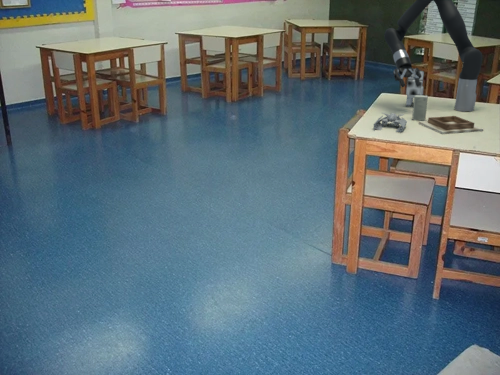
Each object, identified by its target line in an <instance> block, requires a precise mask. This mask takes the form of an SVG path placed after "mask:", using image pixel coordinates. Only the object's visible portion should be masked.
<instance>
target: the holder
mask: <svg viewBox="0 0 500 375" xmlns="http://www.w3.org/2000/svg"><path fill="white" fill-rule="evenodd" d="M418 125H421V126H423V127H424V128H427V129H429V130H432V131H434V132H437V133H439V134H442V135H447V134H460V133H474V132H483V131H484V128H482V127H479V126H477V125H475V122H473V121H470V120H468V119H464V118H462V117H459V116H457V115H449V116H445V115H444V116H433V117H432V116H431V117H428V119H427V120H426V121H425V120H424V121H418Z"/></svg>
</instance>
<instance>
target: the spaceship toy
mask: <svg viewBox="0 0 500 375" xmlns="http://www.w3.org/2000/svg"><path fill="white" fill-rule="evenodd" d="M382 114H383V115H385V116H384V117H383V115H381V116H380V117H378V118H377V119H376V121H375V122H374V123H373V128H374V129H375V130H377V131H381V130H383V128H384V127H385V125H387V124H389V123H392V124H393V125H394V126H396V127H397V128H396V130H395V132H396V133H400V132H401V133H402V132H403V130H404V129H405V127H406V126H407V123H408V121H407V120H406V119H405V118H404V117H401V116H405V114H403V113H402V114H399V115H397V114H396V113H394V112H392V113H386V112H382Z"/></svg>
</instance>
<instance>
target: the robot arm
mask: <svg viewBox="0 0 500 375" xmlns="http://www.w3.org/2000/svg"><path fill="white" fill-rule="evenodd" d="M432 2H434V4H435V5H436V8H437V11H438V14H439V17H440V20H441V22H442V24H443V26H444V28H445V29H446V32H447V33H448V35H449V37H450V38H451V40H452V42H453V44H454V45H455V47H456V50H457V52H458V55H459V58H460V60H461V62H462V67H461V68H462V69H461V72H459V76H458V83H457V89H456V90H457V91H456V95H455V96H456V98H455V104H454V110H455V111H458V112H465V111H469V112H474V111H475V106H476V99H477V93H476V91H477V83H478V77H479V75H480V72H481V67H482V63H483V53H482V52H481V51H480V49H478V48H476V47H475V46H474V45H473V43H472V41H471V40H470V38H469V35H468V31H467V26H466V24H465V21H464V19H463V17H462V15H461V13H460V11H459V10H458V7H456V5H455V4H454V2H453V0H415V1H414V2H413V3H412V4H411V5H410V6H409V7H408V8H407V9H406V10H405V11H404V12H403V14H402V15H401V16H400V17H399V18H398V20H397V22H396V24H397V25H398V28H397V29H395V28H393V27H389V28H387V29H385V32H384V33H383V35H384V37H383V38H384V41H385V42H386V44H387V46H388V47H389V49H390V50H391V53H392V58H393V61H394V64H395V67H396V68H395V69H394V70H393V71H392V74H393V77H394V80H395V81H396V82H397V81H398V82H399V84H400V86H401V88H404V87H405V86H406V84H405V81H404V80H405V78H409V77H410V78H411V79H414V80H415V83H416V86H417V87H418V86H419V85H420V81H419V79H420V78H421V77H422V76H421V74H420V72H419V71H420V69H419V68H418V67H416V68H413V66H412V62H411V59H410V56H409V54H408V52H407V50H406V46H405V45H404V43H403V42H402V41H403V39H404V38H405V36H406V34H407V32H408V30H409V28H410V27H411V26H412V24H413V23H414V22H415V21H416V20H417V19H418V18H419V16H420V15H421V14H422V13H423V11H424V10H425V9H426V8H427V7H428V6H429V4H431V3H432ZM412 74H413V76H411V75H412ZM399 75H400V76H399ZM473 110H474V111H473Z"/></svg>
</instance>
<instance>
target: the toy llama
mask: <svg viewBox="0 0 500 375" xmlns="http://www.w3.org/2000/svg"><path fill="white" fill-rule="evenodd" d="M419 72H420V74H421V76H422V77H421V78H420V79H419V81H420V85H419V86H418V87H417V86H416V83H415V80H414V79H411V78H410V77H407V79H408V80H407V83H406V93H405V95H406V101H405V102H406V104H405V106H406V107H411V106H412V104H414V96H415V95H424V86H423V82H424V76H425V75H424V74H425V71H421V70H419ZM411 76H413V74H412V75H411Z"/></svg>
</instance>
